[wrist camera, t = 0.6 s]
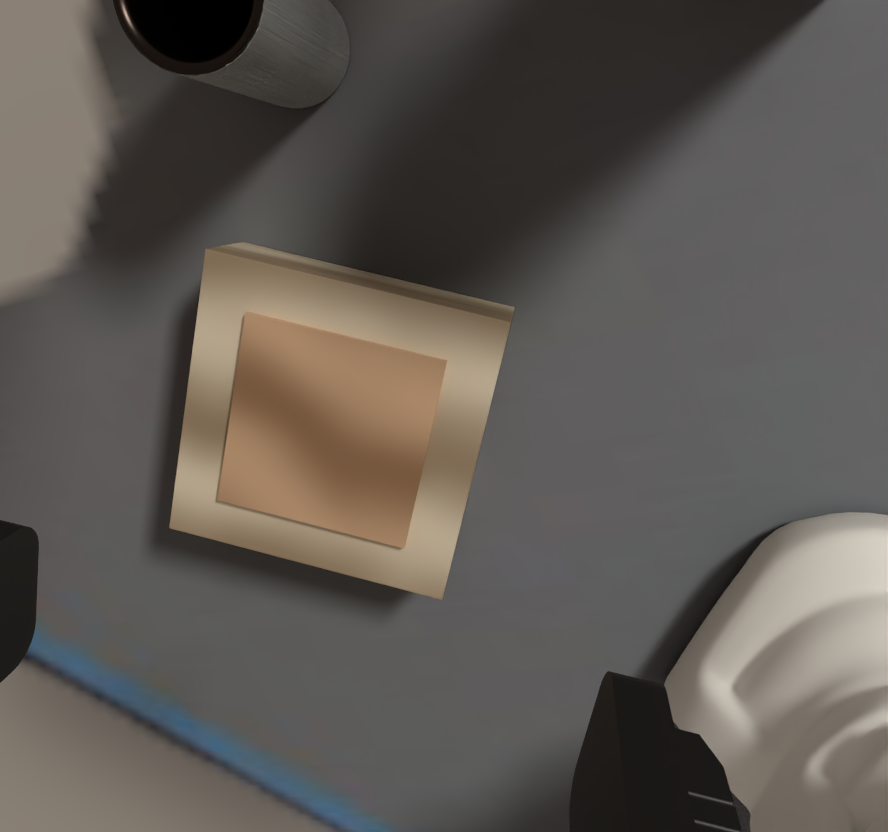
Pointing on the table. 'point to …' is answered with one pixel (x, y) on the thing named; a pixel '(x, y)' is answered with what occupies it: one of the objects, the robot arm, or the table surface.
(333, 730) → the table surface
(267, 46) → the grey and black cylinder
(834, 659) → the statue
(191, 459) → the plinth
